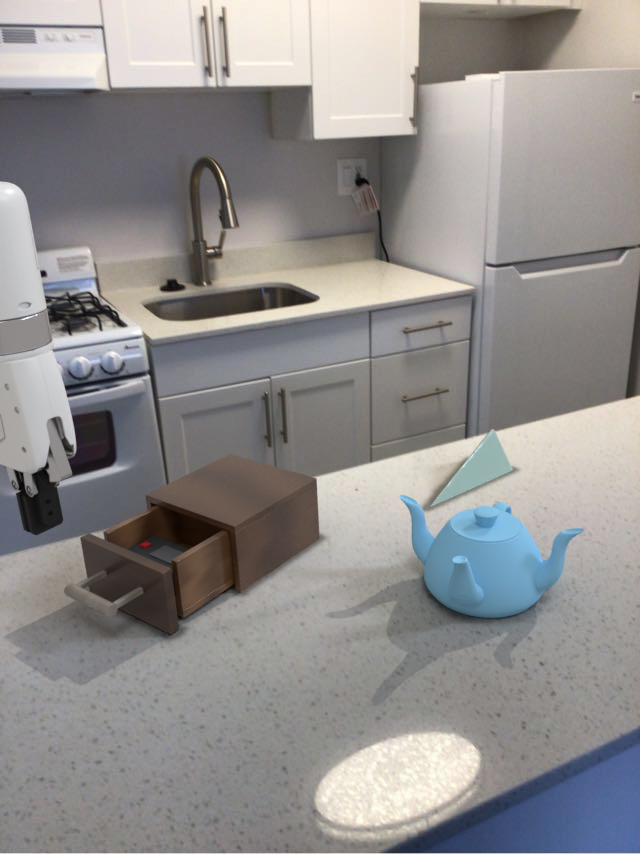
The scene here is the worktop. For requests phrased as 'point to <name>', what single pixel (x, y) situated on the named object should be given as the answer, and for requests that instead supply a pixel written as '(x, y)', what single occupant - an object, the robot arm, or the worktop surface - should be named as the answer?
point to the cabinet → (249, 511)
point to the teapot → (485, 560)
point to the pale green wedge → (478, 468)
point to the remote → (159, 551)
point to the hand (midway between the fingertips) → (44, 526)
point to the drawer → (155, 568)
